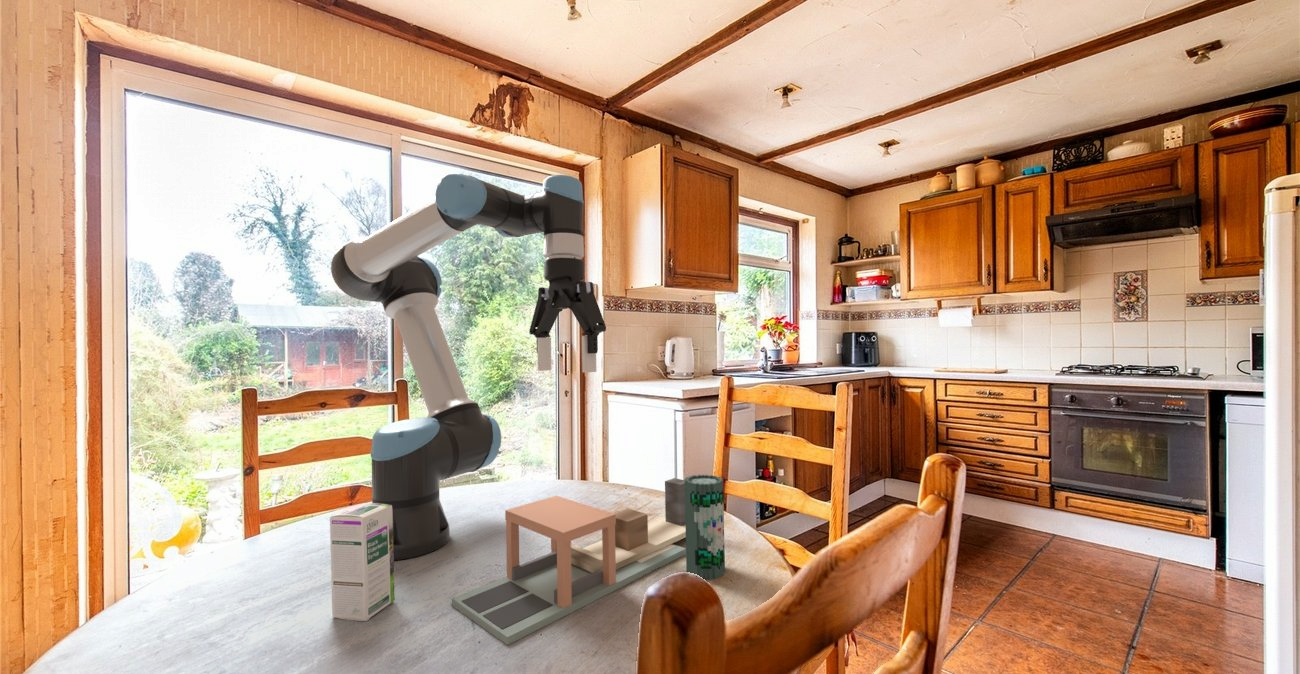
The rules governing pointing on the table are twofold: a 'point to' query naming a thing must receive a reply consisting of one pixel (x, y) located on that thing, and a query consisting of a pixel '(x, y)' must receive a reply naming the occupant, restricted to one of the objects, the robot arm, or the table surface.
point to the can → (704, 526)
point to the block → (631, 529)
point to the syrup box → (362, 561)
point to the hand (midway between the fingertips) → (565, 371)
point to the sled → (659, 533)
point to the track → (552, 570)
